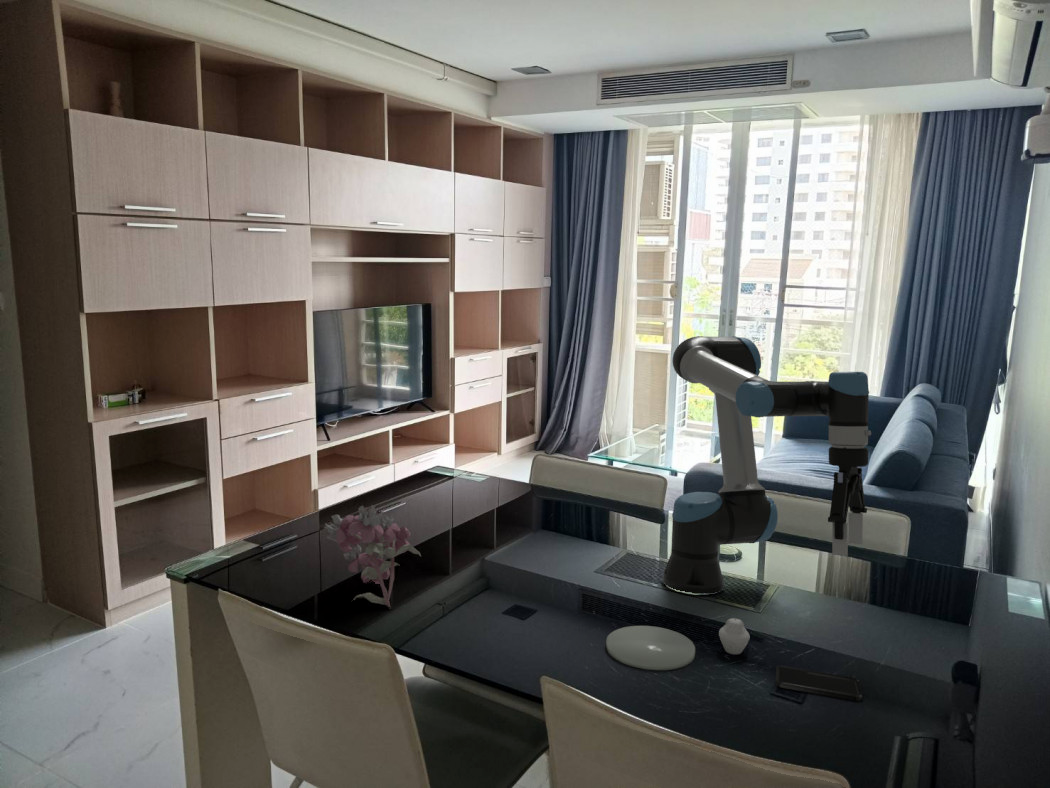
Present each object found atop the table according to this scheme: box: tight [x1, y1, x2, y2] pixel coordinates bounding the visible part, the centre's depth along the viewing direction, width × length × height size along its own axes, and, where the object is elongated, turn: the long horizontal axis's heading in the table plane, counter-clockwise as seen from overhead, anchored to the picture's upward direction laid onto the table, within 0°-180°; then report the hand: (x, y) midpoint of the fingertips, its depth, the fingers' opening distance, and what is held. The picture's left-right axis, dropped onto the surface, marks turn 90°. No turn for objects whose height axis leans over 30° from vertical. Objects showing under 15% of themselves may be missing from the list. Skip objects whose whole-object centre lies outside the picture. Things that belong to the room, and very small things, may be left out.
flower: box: [323, 504, 422, 609], centre depth 181 cm, size 20×22×25 cm
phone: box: [775, 665, 863, 702], centre depth 144 cm, size 8×1×15 cm
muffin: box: [718, 617, 751, 655], centre depth 156 cm, size 6×6×7 cm
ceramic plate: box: [605, 625, 696, 671], centre depth 156 cm, size 18×18×1 cm
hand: (848, 549), depth 157 cm, fingers open, 13 cm apart
